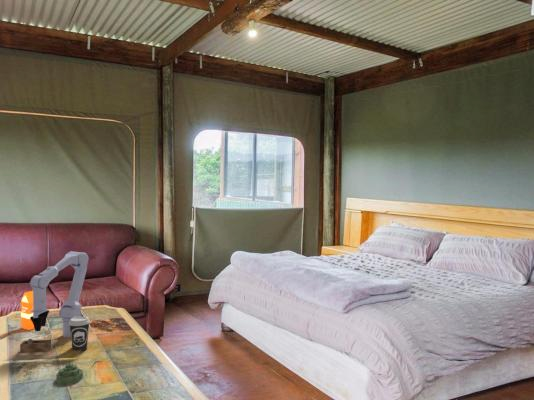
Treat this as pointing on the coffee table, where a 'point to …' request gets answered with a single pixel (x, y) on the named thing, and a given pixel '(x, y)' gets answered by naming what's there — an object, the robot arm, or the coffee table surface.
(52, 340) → the birch board
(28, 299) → the orange juice
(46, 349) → the walnut link
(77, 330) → the coffee cup
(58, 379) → the decorative artifact
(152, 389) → the coffee table surface
